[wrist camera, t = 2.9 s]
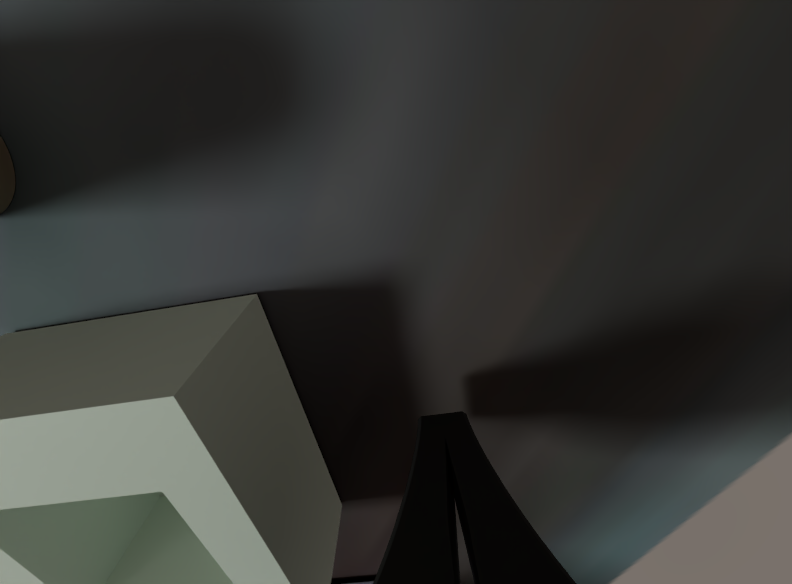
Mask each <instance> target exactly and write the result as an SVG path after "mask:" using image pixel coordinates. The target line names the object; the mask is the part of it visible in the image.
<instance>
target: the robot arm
mask: <svg viewBox="0 0 792 584" xmlns="http://www.w3.org/2000/svg"><path fill="white" fill-rule="evenodd" d="M454 498H455V500H454ZM455 502H456V506H457V510H458V515H459V519H460V523H461V527H462V532H463V536H464V540H465V544H466V549H467V553H468V557H469V561H470V565H471V570H472V574H473V578H474V582H475V584H576V583H575V582H574V580H573V579H572V578H571V577H570V575H569V574H568V573H567V572H566V570H565V569H564V568H563V567H562V565H561V564H560V563H559V562H558V560H557V559H556V558H555V557H554V555H553V554H552V553H551V551H550V550H549V549H548V547H547V546H546V545H545V543H544V542H543V541H542V539H541V538H540V537H539V536H538V534H537V533H536V531H535V530H534V529H533V527H532V526H531V525H530V523H529V522H528V520H527V519H526V518H525V516H524V515H523V513H522V512H521V510H520V509H519V507H518V506H517V504H516V503H515V502H514V500H513V499H512V497H511V496H510V494H509V493H508V491H507V490H506V488H505V486H504V485H503V483H502V482H501V480H500V478H499V477H498V475H497V473H496V472H495V470H494V469H493V467H492V465H491V464H490V462H489V460H488V459H487V457H486V455H485V453H484V451H483V450H482V448H481V446H480V444H479V442H478V440H477V438H476V436H475V434H474V432H473V430H472V428H471V425H470V423H469V420H468V418H467V415H466V414H465V413H464V412H454V413H446V414H438V415H429V416H421V417H420V418H419V419H418V430H417V439H416V445H415V451H414V456H413V461H412V465H411V469H410V473H409V477H408V482H407V486H406V489H405V493H404V496H403V500H402V503H401V506H400V510H399V513H398V516H397V520H396V523H395V526H394V529H393V532H392V535H391V538H390V541H389V543H388V546H387V549H386V552H385V554H384V557H383V560H382V562H381V565H380V568H379V570H378V573H377V575H376V577H375V580H374V581H367V582H355V583H343V584H460V571H459V557H458V542H457V528H456V514H455Z"/></svg>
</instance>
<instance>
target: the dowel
mask: <svg viewBox="0 0 792 584" xmlns="http://www.w3.org/2000/svg"><path fill="white" fill-rule="evenodd" d="M14 192H15V172H14V167H13V163H12V160H11V157H10V154H9V152H8V149H7V147H6V145H5V143H4V141H3V139H2V138H1V136H0V214H1V213H2V212H3V211H5V209H6V208H7V207H8V206H9V204H10V202H11V201H12V199H13V195H14Z"/></svg>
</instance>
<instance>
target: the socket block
mask: <svg viewBox="0 0 792 584" xmlns="http://www.w3.org/2000/svg"><path fill="white" fill-rule="evenodd" d="M341 509H342V504H341V501H340V499H339V496H338V494H337V491H336V489H335V486H334V484H333V481H332V479H331V477H330V474H329V472H328V469H327V467H326V464H325V462H324V459H323V457H322V454H321V452H320V449H319V447H318V444H317V442H316V439H315V437H314V434H313V432H312V429H311V427H310V424H309V422H308V419H307V417H306V415H305V412H304V410H303V407H302V405H301V402H300V400H299V397H298V395H297V392H296V390H295V387H294V385H293V382H292V380H291V377H290V375H289V372H288V370H287V367H286V365H285V362H284V360H283V357H282V355H281V352H280V350H279V348H278V345H277V343H276V340H275V338H274V335H273V333H272V330H271V328H270V325H269V323H268V320H267V318H266V315H265V313H264V310H263V308H262V305H261V303H260V300H259V298H258V295H257V294H253V295H247V296H241V297H234V298H228V299H222V300H216V301H209V302H203V303H197V304H190V305H184V306H178V307H171V308H165V309H159V310H152V311H146V312H140V313H133V314H127V315H121V316H115V317H108V318H102V319H96V320H89V321H83V322H77V323H70V324H64V325H58V326H51V327H45V328H39V329H32V330H26V331H20V332H14V333H7V334H4V335H2V336H0V584H331V579H332V572H333V565H334V558H335V551H336V544H337V537H338V530H339V523H340V516H341Z"/></svg>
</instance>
